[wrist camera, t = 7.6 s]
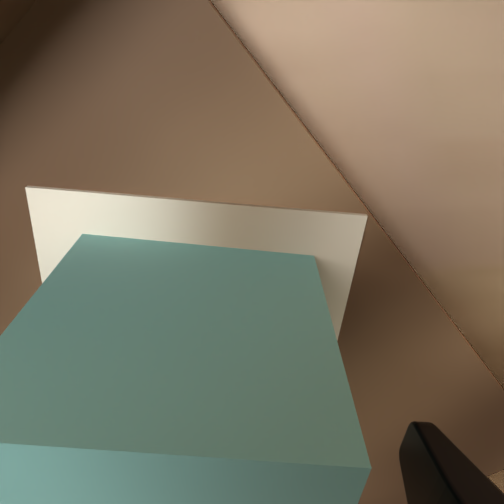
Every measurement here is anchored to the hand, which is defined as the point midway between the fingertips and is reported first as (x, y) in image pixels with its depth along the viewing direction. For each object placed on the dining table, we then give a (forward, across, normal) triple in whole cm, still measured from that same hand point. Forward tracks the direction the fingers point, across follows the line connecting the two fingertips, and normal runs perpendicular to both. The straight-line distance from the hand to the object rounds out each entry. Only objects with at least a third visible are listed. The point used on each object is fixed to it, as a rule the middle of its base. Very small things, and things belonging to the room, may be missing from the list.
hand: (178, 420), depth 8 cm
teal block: (+2, 0, 0) cm, 2 cm away
